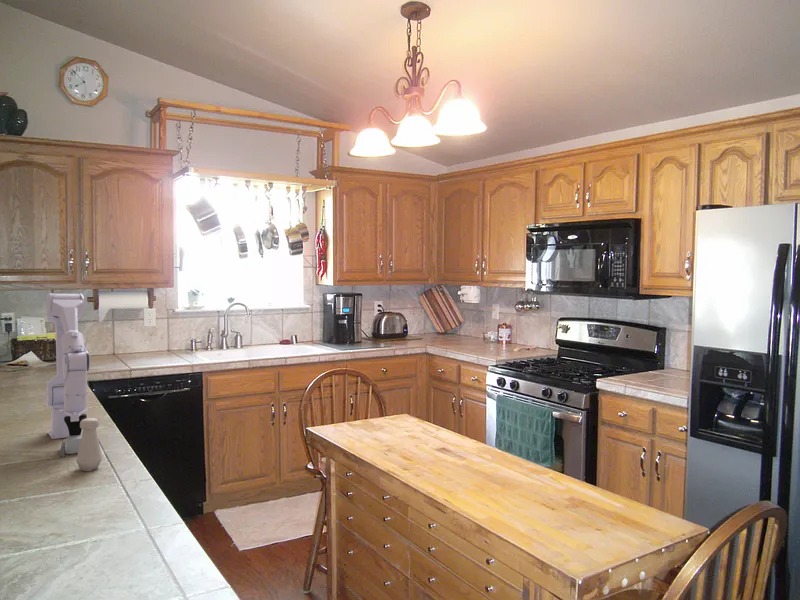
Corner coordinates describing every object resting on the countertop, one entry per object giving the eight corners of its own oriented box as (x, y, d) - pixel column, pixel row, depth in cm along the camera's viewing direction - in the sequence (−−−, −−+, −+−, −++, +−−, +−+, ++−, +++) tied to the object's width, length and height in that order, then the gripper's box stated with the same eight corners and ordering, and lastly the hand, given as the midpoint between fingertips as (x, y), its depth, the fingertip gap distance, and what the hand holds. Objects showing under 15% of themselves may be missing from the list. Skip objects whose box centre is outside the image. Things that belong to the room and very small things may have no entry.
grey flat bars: (62, 448, 172) (62, 441, 171) (88, 446, 175) (88, 439, 174) (60, 457, 164) (60, 449, 163) (87, 454, 167) (88, 447, 166)
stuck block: (66, 450, 169) (67, 436, 169) (82, 448, 171) (83, 434, 171) (66, 453, 166) (66, 439, 166) (82, 452, 168) (82, 438, 167)
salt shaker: (95, 463, 159) (96, 415, 158) (105, 468, 155) (106, 418, 155) (72, 468, 154) (72, 418, 154) (82, 473, 151) (82, 422, 150)
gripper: (61, 390, 175) (60, 436, 176) (58, 399, 162) (57, 449, 163) (88, 388, 179) (87, 433, 179) (87, 398, 166) (86, 446, 166)
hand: (75, 441), depth 171 cm, fingers closed
